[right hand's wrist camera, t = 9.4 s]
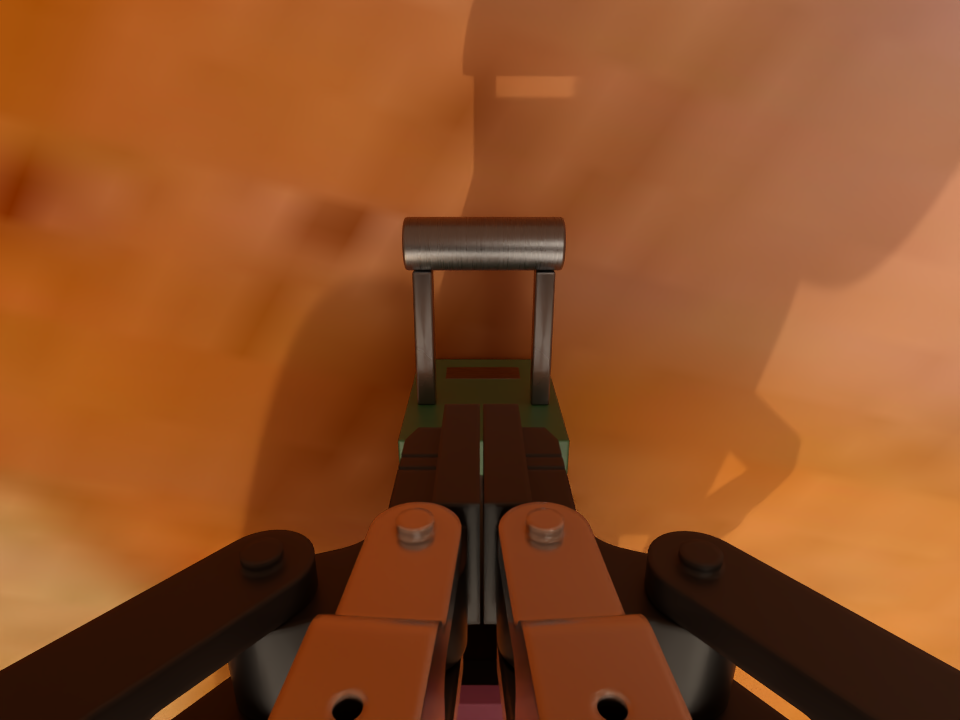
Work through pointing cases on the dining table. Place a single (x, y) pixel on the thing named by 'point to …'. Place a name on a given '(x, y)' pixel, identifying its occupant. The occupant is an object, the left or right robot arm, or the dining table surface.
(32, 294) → the dining table surface
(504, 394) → the drawer
